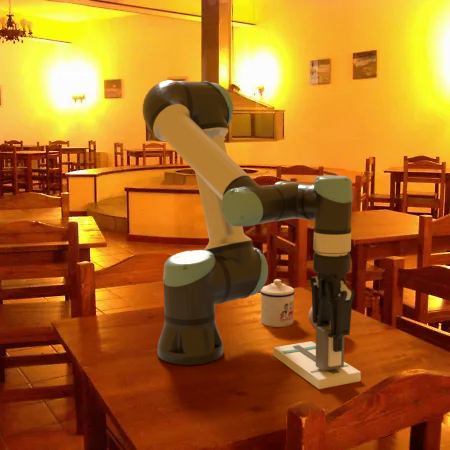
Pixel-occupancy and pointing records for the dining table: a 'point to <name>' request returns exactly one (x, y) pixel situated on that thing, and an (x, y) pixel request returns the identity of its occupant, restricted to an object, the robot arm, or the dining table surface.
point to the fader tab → (325, 348)
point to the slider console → (314, 366)
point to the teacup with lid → (277, 304)
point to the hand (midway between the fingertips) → (329, 361)
